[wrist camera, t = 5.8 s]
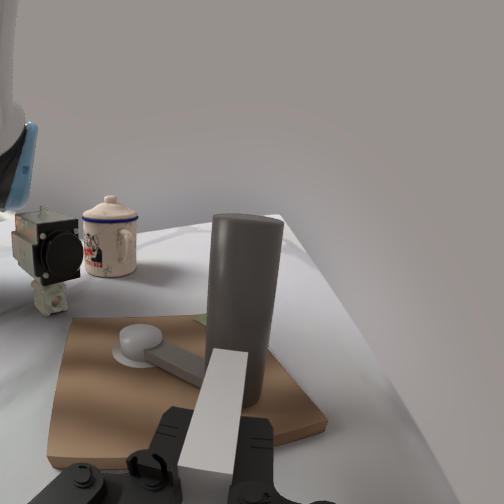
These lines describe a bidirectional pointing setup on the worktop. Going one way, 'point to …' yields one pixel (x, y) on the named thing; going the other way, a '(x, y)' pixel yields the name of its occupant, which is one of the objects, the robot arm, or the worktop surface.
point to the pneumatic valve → (48, 255)
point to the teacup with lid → (110, 239)
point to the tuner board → (148, 393)
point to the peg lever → (225, 304)
